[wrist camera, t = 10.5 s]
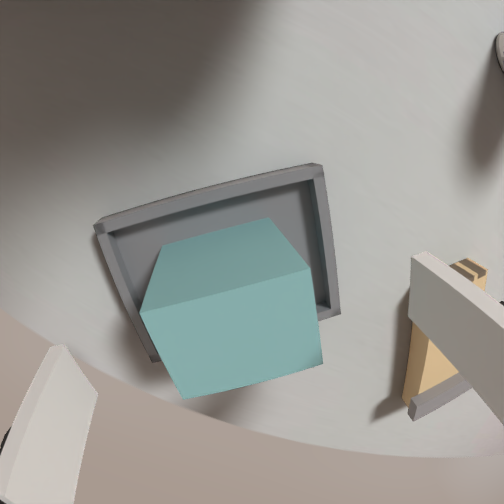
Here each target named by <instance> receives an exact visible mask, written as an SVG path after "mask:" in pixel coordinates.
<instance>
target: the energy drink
mask: <svg viewBox="0 0 504 504" xmlns="http://www.w3.org/2000/svg"><path fill="white" fill-rule="evenodd" d="M496 53H497V57H498V61H499V63H500V66H501V68H502V70H503V72H504V32H501V33H499V35H498V36H497V39H496Z"/></svg>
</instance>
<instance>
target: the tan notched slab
mask: <svg viewBox="0 0 504 504" xmlns="http://www.w3.org/2000/svg"><path fill="white" fill-rule="evenodd" d="M450 267H451V268H452V269H454V270H455V271H457V272H458V273H460V274H461V275H463V276H464V277H465V278H467V279H468V280H470V281H471V282H472V283H474V284H475V285H476V286H478V287H479V288H481V289H482V290H483V291H484V290H485V284H486V278H487V271H488V269H486V268H484V267H483V266H481V265H479V264H478V263H476V262H474V261H473V260H471V259H469V258H466V259H464V260H462V261H459V262H457V263H454V264H452V265H450ZM471 388H472V386H471V385H470V384H469V383H468V382H467V381H466V379H465V378H464V377H463V376H462V375H461V374H460V373H459V371H458V370H457V369H456V368H455V367H454V366H453V365H452V363H451V362H450V361H449V360H448V359H447V358H446V357H445V356H444V355H443V353H442V352H441V351H440V350H439V349H438V348H437V347H436V346H435V345H434V344H433V343H432V341H431V340H430V339H429V338H428V337H427V336H426V335H425V334H424V333H423V332H422V331H421V330H420V329H419V328H418V326H417V325H416V324H415V323H414V322H412V332H411V341H410V349H409V357H408V364H407V371H406V377H405V383H404V389H403V394H402V399H403V400H404V402H405V403H406V405H407V406H408V408H409V409H408V415H409V416H410V418H411V419H412V421H415V420H417V419H419V418H421V417H423V416H425V415H427V414H429V413H431V412H432V411H434V410H436V409H438V408H440V407H441V406H443V405H445V404H446V403H448V402H450V401H452V400H453V399H455V398H456V397H458V396H460V395H461V394H463V393H465V392H466V391H468V390H469V389H471Z"/></svg>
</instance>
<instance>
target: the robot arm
mask: <svg viewBox="0 0 504 504" xmlns="http://www.w3.org/2000/svg"><path fill="white" fill-rule="evenodd" d="M408 317H409V318H410V319H411V320H412V321H413V322H414V323H415V324H416V325H417V326H418V328H419V329H420V330H421V331H422V332H423V333H424V334H425V335H426V336H427V337H428V338H429V339H430V340H431V341H432V343H433V344H434V345H435V346H436V347H437V348H438V349H439V350H440V351H441V352H442V353H443V355H444V356H445V357H446V358H447V359H448V360H449V361H450V362H451V363H452V365H453V366H454V367H455V368H456V369H457V370H458V371H459V373H460V374H461V375H462V376H463V377H464V378H465V379H466V381H467V382H468V383H469V384H470V385H471V386H472V388H473V389H474V390H475V391H476V392H477V393H478V395H479V396H480V397H481V398H482V399H483V401H484V402H485V403H486V404H487V405H488V407H489V408H490V409H491V410H492V412H493V413H494V414H495V415H496V417H497V418H498V419H499V420H500V422H501V423H502V424H503V425H504V302H503V301H501V302H498V301H497V300H495V299H494V298H493V297H491V296H490V295H489V294H487V293H486V292H485V291H483V290H482V289H481V288H479V287H478V286H476V285H475V284H474V283H472V282H471V281H470V280H468V279H467V278H465V277H464V276H463V275H461V274H460V273H458V272H457V271H455V270H454V269H452V268H451V267H450V266H448V265H447V264H445V263H444V262H442V261H441V260H439V259H438V258H436V257H435V256H433V255H432V254H430V253H429V252H427V251H425V252H423V253H420V254H417V255H414V256H411V276H410V294H409V307H408ZM97 397H98V393H97V392H96V390H95V389H94V387H93V386H92V385H91V383H90V382H89V381H88V379H87V378H86V376H85V375H84V373H83V372H82V371H81V369H80V367H79V366H78V364H77V363H76V361H75V360H74V358H73V356H72V355H71V353H70V352H69V350H68V348H67V347H66V345H65V344H63V345H57V346H51V347H50V348H49V350H48V352H47V354H46V356H45V358H44V360H43V361H42V363H41V365H40V367H39V369H38V371H37V373H36V375H35V377H34V379H33V381H32V383H31V385H30V387H29V389H28V391H27V394H26V395H25V398H24V400H23V402H22V404H21V406H20V409H19V411H18V413H17V415H16V418H15V420H14V422H13V425H12V426H11V427H10V429H9V430H8V431H7V433H6V434H5V436H4V439H3V441H2V443H1V449H0V504H73V503H74V497H75V492H76V486H77V481H78V476H79V471H80V465H81V461H82V457H83V452H84V448H85V443H86V439H87V435H88V431H89V427H90V423H91V419H92V415H93V411H94V408H95V404H96V401H97Z"/></svg>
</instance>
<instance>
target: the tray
mask: <svg viewBox="0 0 504 504" xmlns="http://www.w3.org/2000/svg"><path fill="white" fill-rule="evenodd" d="M268 217H269V218H270V219H271V220H272V222H273V223H274V224H275V225H276V227H277V228H278V229H279V230H280V231H281V233H282V234H283V235H284V236H285V238H286V239H287V240H288V241H289V242H290V244H291V245H292V246H293V247H294V249H295V250H296V251H297V252H298V254H299V255H300V256H301V257H302V258H303V260H304V261H305V262H306V263H307V265H308V266H309V267H310V270H311V276H312V283H313V290H314V297H315V304H316V311H317V318H318V321H321V320H324V319H327V318H330V317H333V316H336V315H339V314H341V312H340V299H339V288H338V278H337V268H336V259H335V250H334V241H333V233H332V226H331V218H330V211H329V204H328V197H327V191H326V184H325V178H324V172H323V166H322V165H320V164H315V163H309V164H304V165H299V166H294V167H290V168H285V169H280V170H276V171H271V172H267V173H262V174H258V175H254V176H249V177H245V178H241V179H237V180H233V181H229V182H224V183H221V184H217V185H213V186H209V187H205V188H201V189H197V190H194V191H190V192H186V193H183V194H179V195H175V196H172V197H168V198H165V199H161V200H158V201H155V202H151V203H148V204H145V205H141V206H138V207H135V208H131V209H128V210H125V211H122V212H119V213H116V214H113V215H109V216H106V217H103V218H101V219H100V220H99V221H98V222H96V223H95V224H94V225H93V226H94V229H95V232H96V235H97V238H98V241H99V243H100V246H101V249H102V252H103V254H104V257H105V259H106V262H107V265H108V267H109V270H110V272H111V275H112V277H113V280H114V282H115V284H116V287H117V289H118V291H119V294H120V296H121V298H122V301H123V303H124V305H125V308H126V310H127V312H128V314H129V316H130V319H131V321H132V323H133V325H134V327H135V329H136V331H137V333H138V335H139V337H140V339H141V341H142V344H143V346H144V348H145V349H146V351H147V353H148V355H149V357H150V359H151V361H152V363H153V362H159V361H162V359H161V357H160V355H159V353H158V351H157V349H156V347H155V345H154V343H153V341H152V339H151V337H150V335H149V333H148V331H147V328H146V326H145V324H144V322H143V320H142V318H141V315H140V310H141V306H142V303H143V300H144V297H145V294H146V291H147V288H148V285H149V282H150V279H151V276H152V273H153V270H154V267H155V265H156V262H157V259H158V256H159V253H160V251H161V248H162V246H163V245H167V244H170V243H174V242H177V241H181V240H185V239H188V238H192V237H196V236H199V235H203V234H207V233H210V232H214V231H218V230H222V229H225V228H229V227H233V226H237V225H241V224H245V223H248V222H252V221H256V220H260V219H264V218H268Z"/></svg>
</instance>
